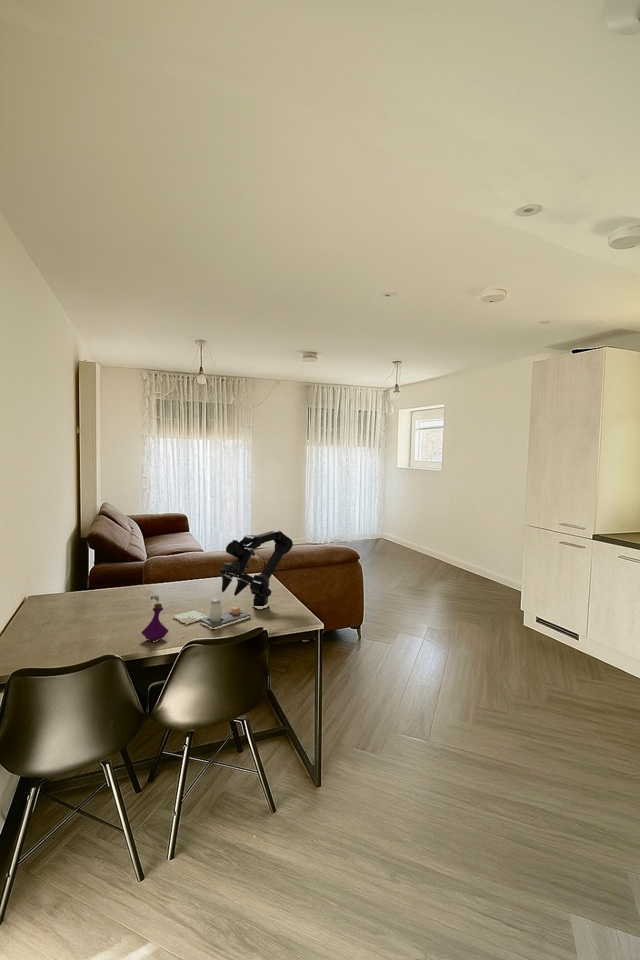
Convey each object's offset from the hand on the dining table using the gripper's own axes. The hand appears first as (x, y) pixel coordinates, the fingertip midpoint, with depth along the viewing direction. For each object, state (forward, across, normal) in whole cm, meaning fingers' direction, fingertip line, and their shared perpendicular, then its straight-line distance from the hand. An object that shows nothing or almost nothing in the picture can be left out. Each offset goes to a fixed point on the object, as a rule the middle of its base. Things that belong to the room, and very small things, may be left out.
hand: (228, 593), depth 203 cm
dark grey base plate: (+11, 0, +5) cm, 12 cm away
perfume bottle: (+28, -4, -23) cm, 36 cm away
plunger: (+7, 0, +9) cm, 11 cm away
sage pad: (+16, -13, -4) cm, 21 cm away
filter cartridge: (+14, 0, 0) cm, 14 cm away
